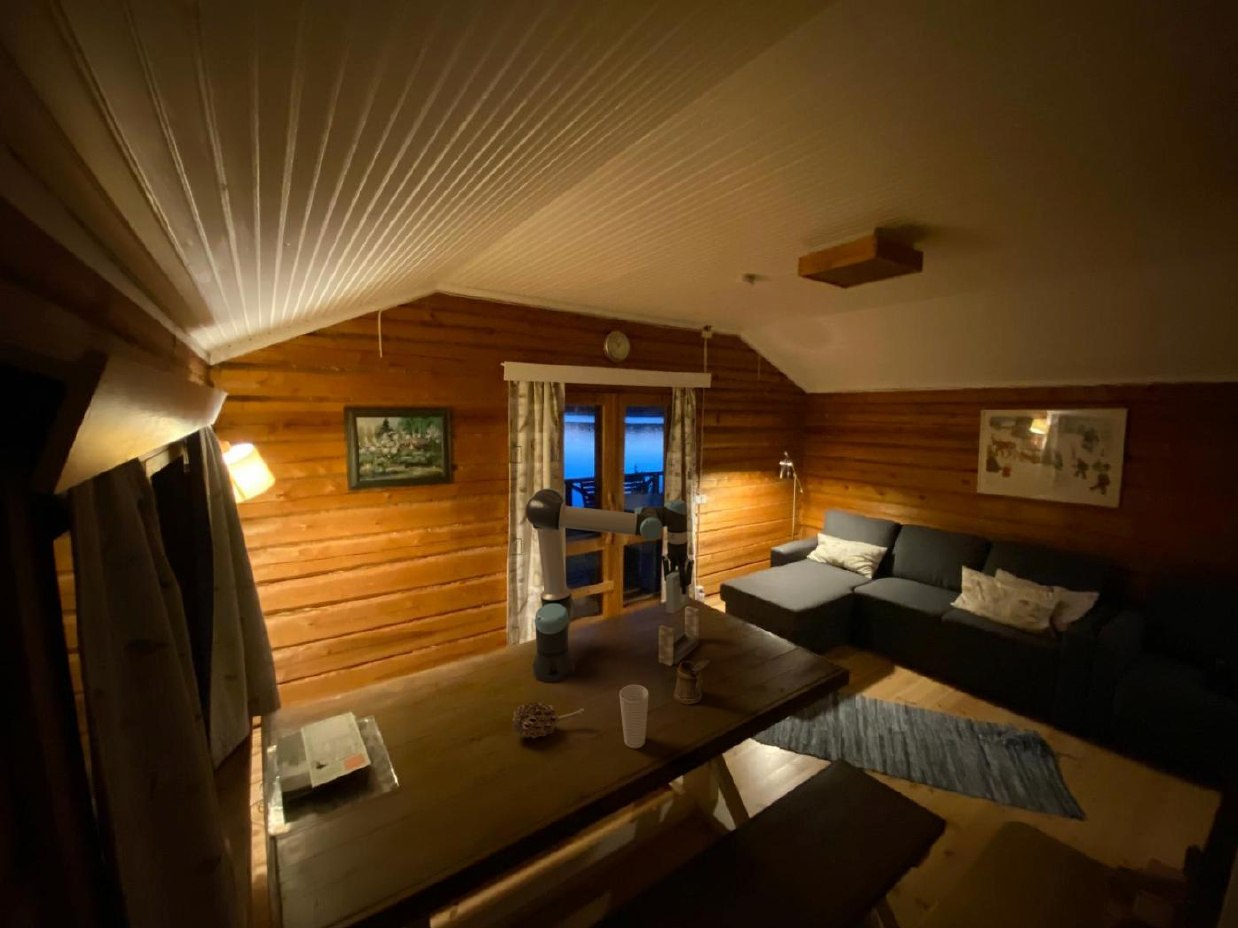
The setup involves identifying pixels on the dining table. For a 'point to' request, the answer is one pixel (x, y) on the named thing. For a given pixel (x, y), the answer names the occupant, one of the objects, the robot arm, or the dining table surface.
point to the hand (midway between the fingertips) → (677, 600)
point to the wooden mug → (689, 682)
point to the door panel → (674, 592)
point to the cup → (634, 714)
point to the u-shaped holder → (679, 639)
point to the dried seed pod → (538, 719)
